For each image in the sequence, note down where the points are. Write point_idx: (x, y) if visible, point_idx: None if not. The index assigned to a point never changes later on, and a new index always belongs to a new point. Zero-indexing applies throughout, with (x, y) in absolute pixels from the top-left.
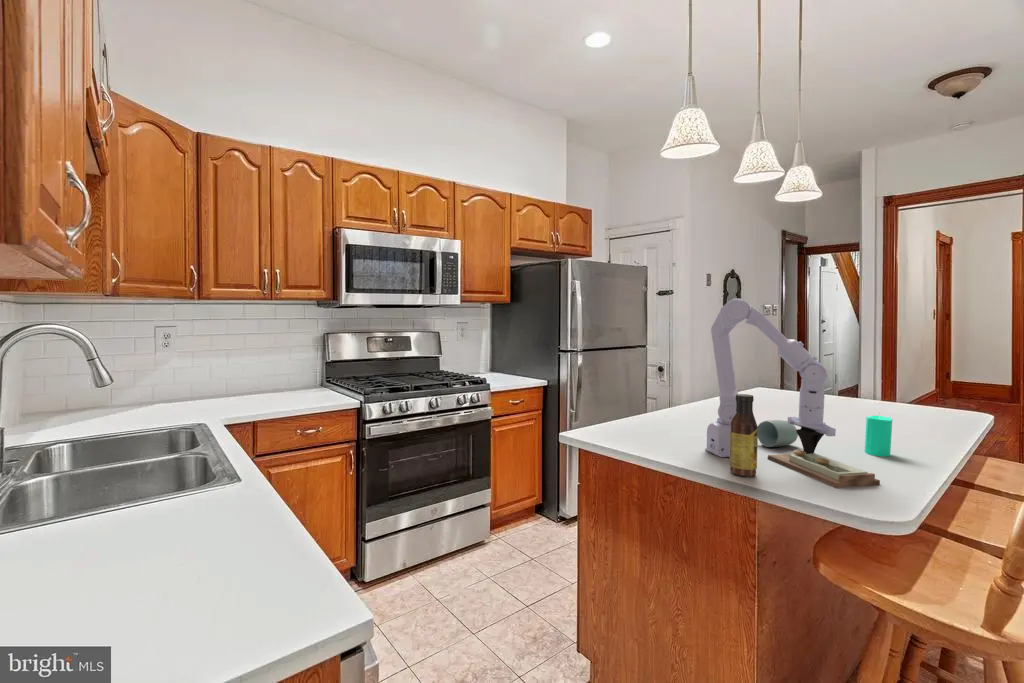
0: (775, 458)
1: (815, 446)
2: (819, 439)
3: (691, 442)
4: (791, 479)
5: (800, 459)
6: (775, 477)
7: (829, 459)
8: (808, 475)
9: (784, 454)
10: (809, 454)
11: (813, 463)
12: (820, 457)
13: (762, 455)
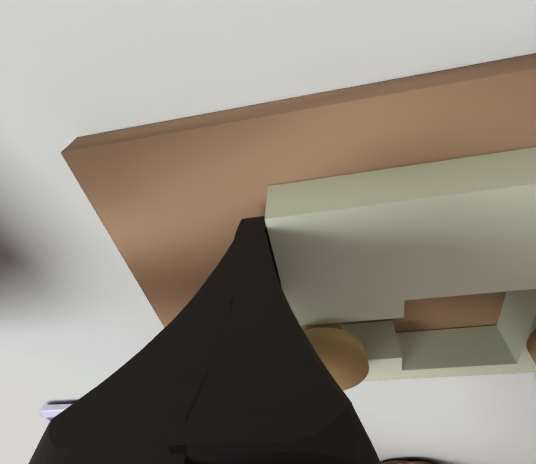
0: None
1: (275, 280)
2: (312, 350)
3: (7, 460)
4: (524, 405)
5: (415, 375)
6: (476, 430)
7: (499, 215)
8: None
9: (160, 311)
10: (309, 283)
11: (533, 365)
12: (414, 253)
13: (134, 355)
